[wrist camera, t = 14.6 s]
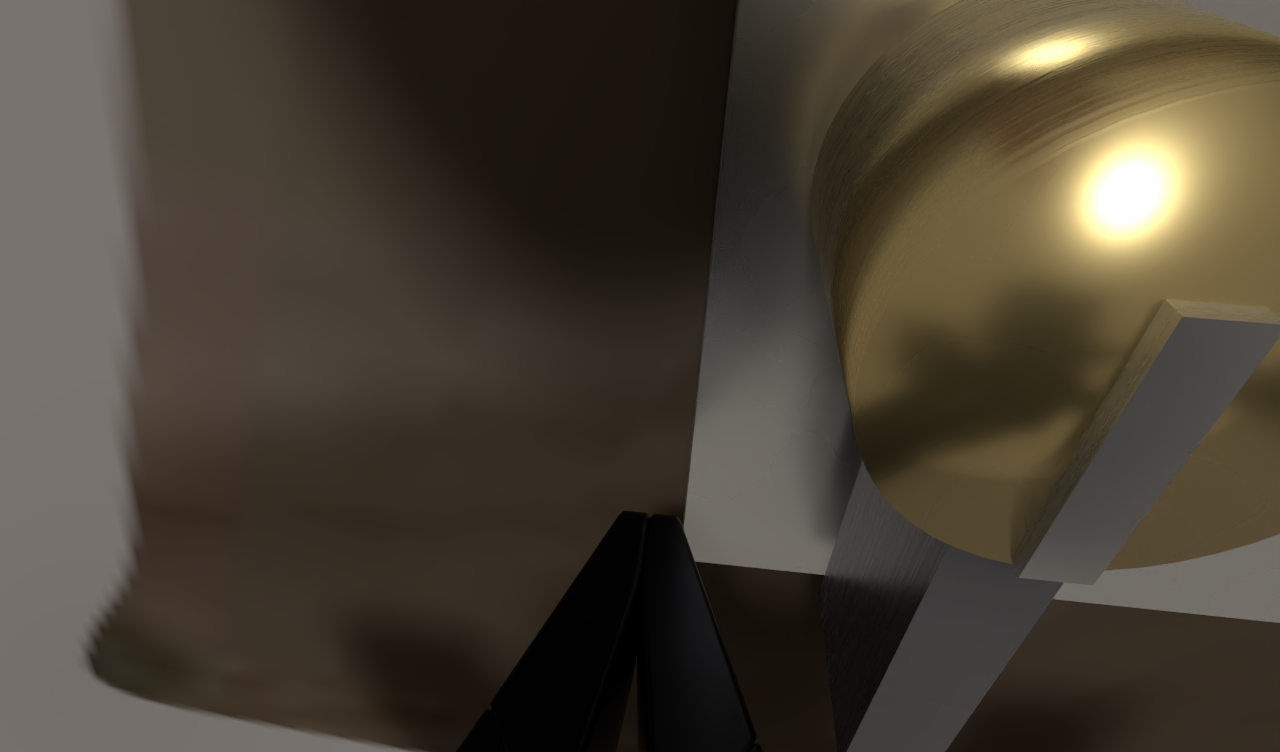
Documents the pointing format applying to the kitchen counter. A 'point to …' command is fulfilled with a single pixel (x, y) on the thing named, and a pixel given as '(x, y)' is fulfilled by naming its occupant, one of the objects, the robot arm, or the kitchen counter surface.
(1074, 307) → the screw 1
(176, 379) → the kitchen counter surface
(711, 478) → the base plate
